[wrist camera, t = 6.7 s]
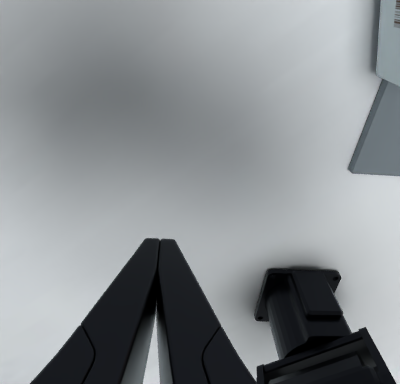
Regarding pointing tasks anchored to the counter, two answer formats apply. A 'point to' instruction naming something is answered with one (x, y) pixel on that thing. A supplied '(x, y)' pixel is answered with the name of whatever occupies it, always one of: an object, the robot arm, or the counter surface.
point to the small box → (389, 42)
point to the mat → (380, 136)
